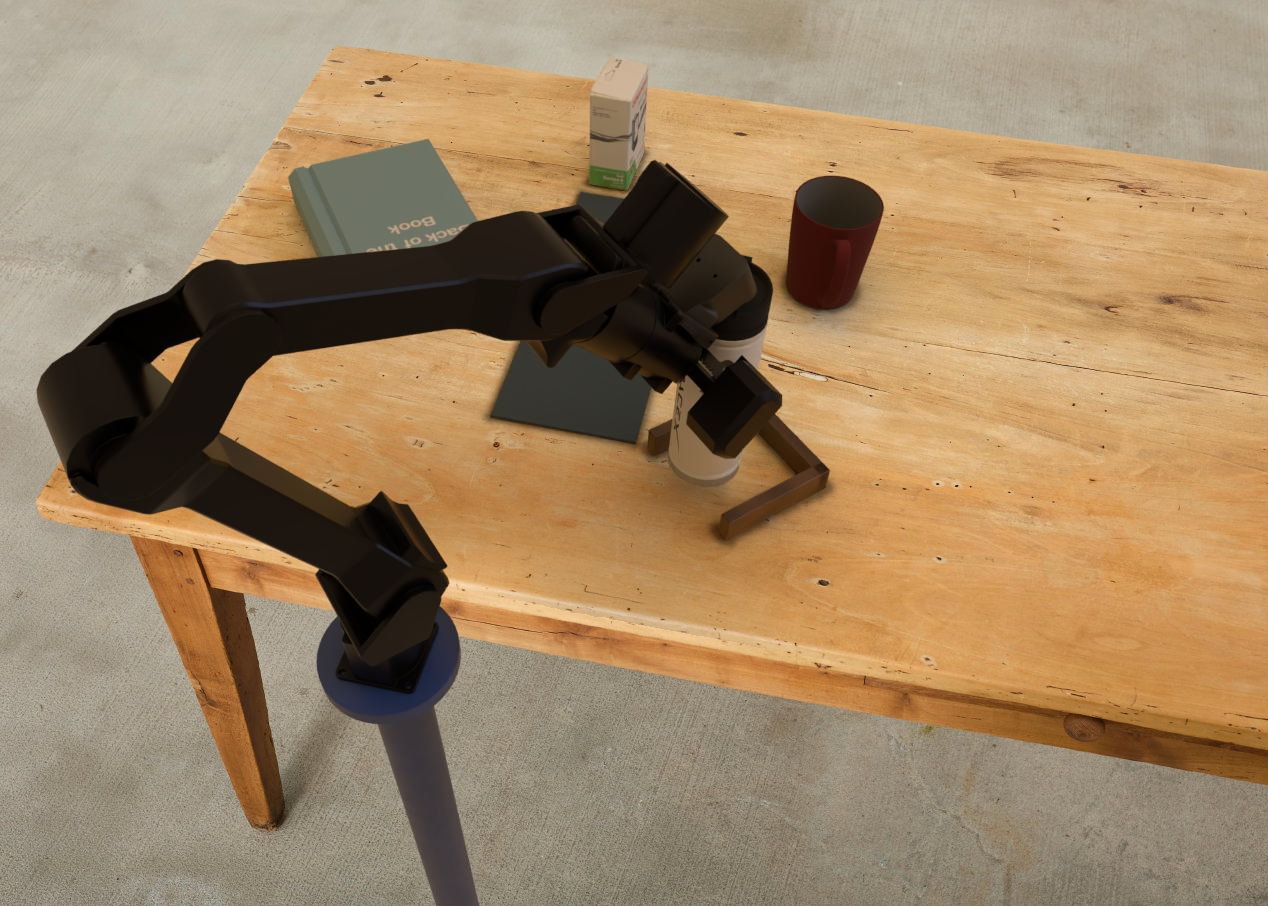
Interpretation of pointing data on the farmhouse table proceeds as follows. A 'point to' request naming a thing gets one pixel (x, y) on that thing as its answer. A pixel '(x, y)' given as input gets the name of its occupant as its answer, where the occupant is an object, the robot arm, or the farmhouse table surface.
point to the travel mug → (735, 339)
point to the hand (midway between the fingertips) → (729, 377)
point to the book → (380, 201)
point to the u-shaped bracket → (776, 498)
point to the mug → (830, 239)
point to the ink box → (617, 123)
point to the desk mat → (574, 381)
